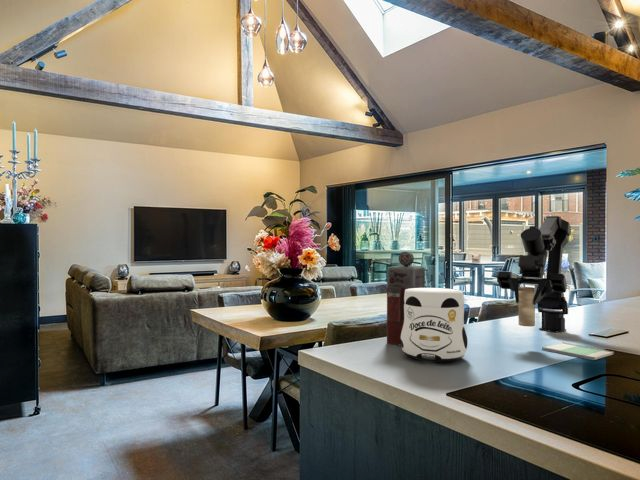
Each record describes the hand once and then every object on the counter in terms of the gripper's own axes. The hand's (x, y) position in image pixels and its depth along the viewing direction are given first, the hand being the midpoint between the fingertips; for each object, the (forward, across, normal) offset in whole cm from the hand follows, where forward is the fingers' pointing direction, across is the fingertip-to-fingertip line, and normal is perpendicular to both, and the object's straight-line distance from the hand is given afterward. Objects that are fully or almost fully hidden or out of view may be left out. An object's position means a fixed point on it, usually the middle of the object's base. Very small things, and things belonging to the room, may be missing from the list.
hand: (525, 303), depth 133 cm
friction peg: (+4, 0, +6) cm, 7 cm away
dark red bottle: (+21, -31, -2) cm, 37 cm away
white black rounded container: (+29, -16, -10) cm, 34 cm away
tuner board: (+6, +13, +13) cm, 19 cm away
